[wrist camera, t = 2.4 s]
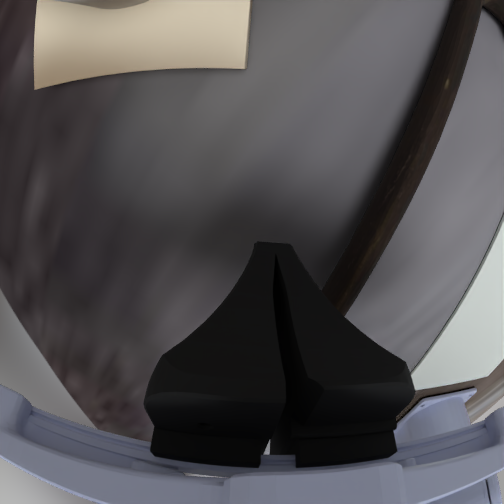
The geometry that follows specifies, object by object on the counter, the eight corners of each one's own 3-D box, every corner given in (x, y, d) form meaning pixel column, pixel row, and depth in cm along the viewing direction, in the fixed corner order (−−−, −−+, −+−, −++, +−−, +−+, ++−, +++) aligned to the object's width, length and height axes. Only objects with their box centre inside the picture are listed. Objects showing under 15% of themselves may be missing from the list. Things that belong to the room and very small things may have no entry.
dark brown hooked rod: (509, 34, 8) (297, 405, 22) (437, -25, 7) (237, 393, 22) (574, 35, 3) (298, 461, 18) (497, -52, 2) (230, 451, 17)
